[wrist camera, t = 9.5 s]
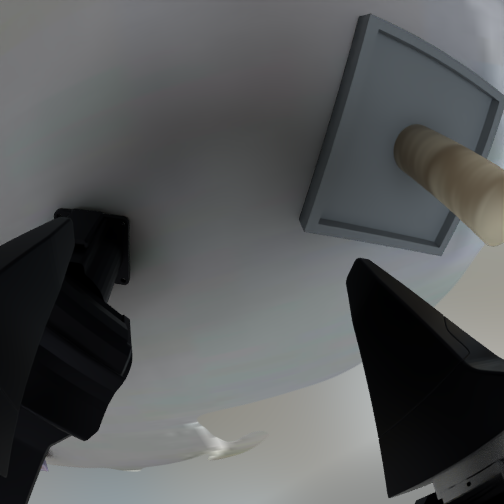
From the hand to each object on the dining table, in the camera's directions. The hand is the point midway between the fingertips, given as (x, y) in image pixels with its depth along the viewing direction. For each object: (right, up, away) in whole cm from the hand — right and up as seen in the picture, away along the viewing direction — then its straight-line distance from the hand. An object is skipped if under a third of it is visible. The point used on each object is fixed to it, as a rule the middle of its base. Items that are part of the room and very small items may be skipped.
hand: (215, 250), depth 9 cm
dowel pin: (+13, +8, +11) cm, 19 cm away
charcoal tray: (+13, +8, +12) cm, 19 cm away
